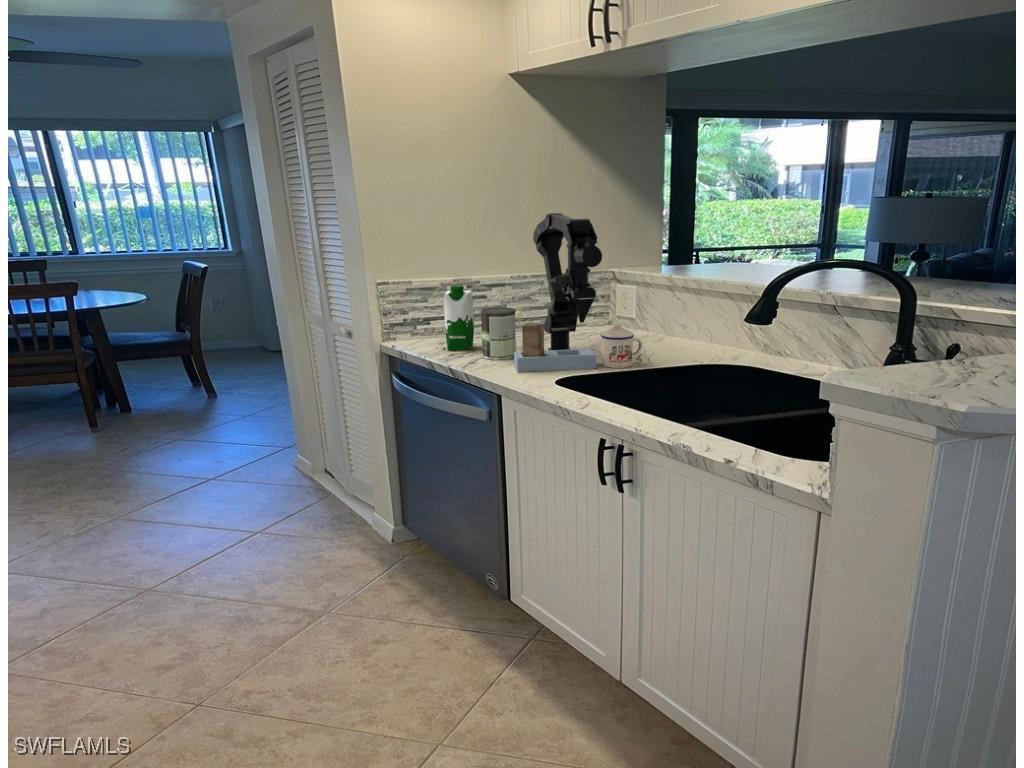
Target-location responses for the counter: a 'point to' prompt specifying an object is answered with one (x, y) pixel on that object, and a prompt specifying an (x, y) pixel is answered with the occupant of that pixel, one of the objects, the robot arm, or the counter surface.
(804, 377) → the counter surface
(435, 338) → the counter surface
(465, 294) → the milk carton
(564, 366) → the blue peg holder
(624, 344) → the teacup with lid
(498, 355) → the coffee can
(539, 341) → the peg
